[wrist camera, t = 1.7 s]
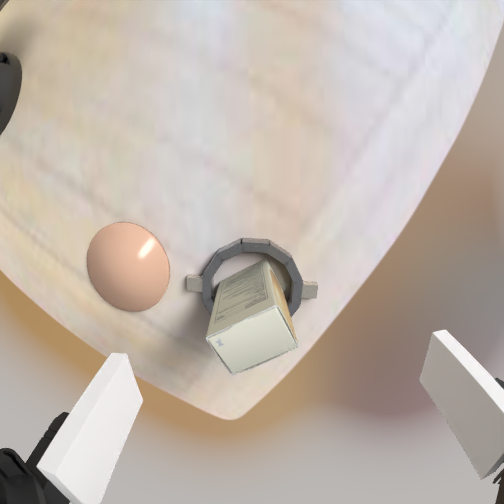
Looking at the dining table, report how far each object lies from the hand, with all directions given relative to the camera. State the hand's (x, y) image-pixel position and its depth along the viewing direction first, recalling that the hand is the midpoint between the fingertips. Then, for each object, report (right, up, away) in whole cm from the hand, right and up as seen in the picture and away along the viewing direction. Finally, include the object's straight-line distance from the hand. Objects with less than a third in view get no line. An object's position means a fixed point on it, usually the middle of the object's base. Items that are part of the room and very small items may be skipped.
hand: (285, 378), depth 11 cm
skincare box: (-1, +1, +22) cm, 23 cm away
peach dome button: (-16, +3, +22) cm, 27 cm away
